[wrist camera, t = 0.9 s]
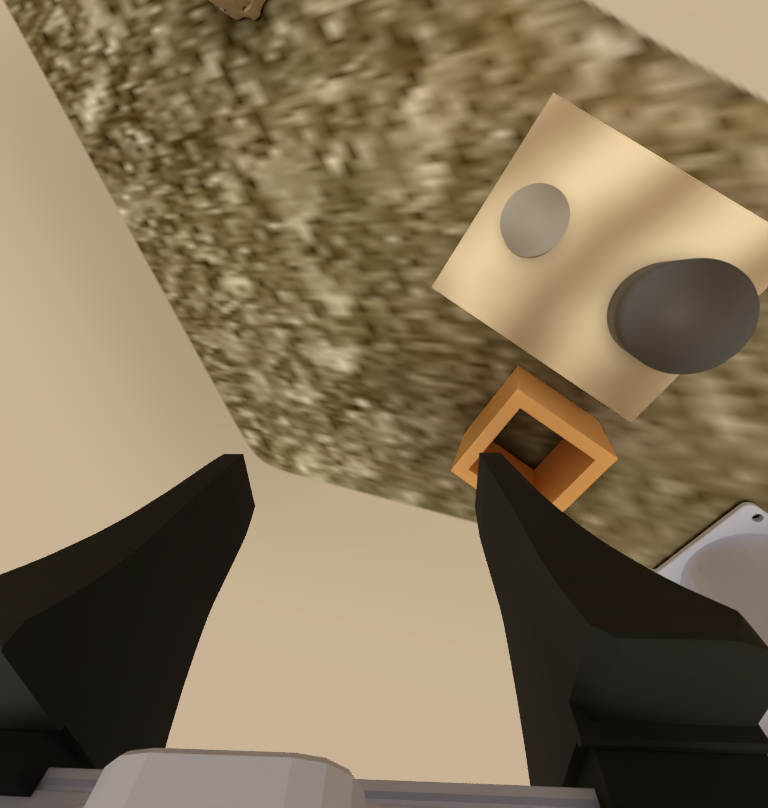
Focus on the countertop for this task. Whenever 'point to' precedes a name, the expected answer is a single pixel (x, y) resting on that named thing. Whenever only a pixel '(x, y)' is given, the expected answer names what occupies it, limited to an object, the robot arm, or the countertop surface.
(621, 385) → the fitting board
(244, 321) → the countertop surface
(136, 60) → the countertop surface
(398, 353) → the countertop surface
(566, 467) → the sleeve
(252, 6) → the handle
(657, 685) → the robot arm
